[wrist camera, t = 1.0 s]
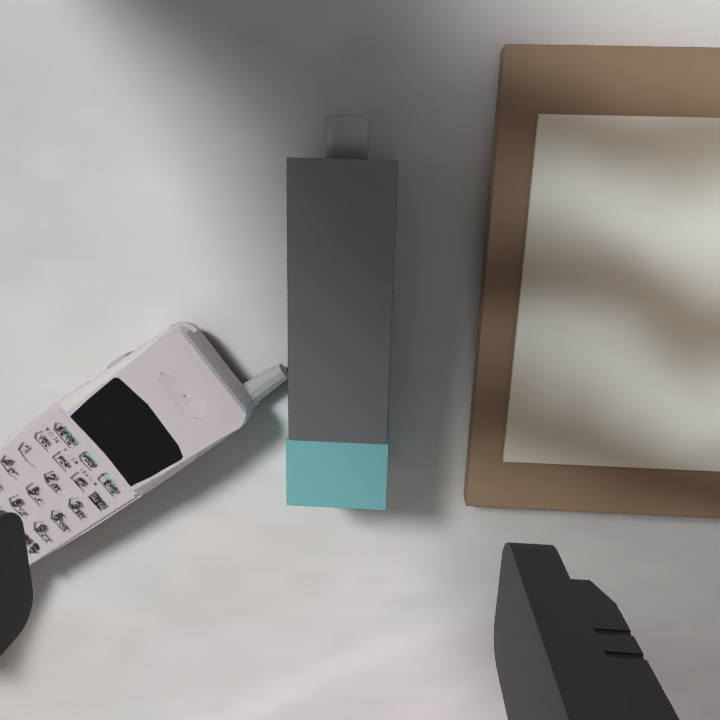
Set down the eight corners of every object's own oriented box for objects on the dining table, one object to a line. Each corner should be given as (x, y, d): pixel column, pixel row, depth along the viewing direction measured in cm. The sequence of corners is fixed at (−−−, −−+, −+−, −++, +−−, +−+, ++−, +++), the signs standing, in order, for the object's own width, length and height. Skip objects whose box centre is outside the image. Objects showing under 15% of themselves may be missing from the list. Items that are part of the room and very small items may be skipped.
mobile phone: (-242, 613, 27) (180, 308, 21) (-131, 537, 32) (223, 281, 27) (-141, 703, 28) (279, 435, 23) (-52, 614, 34) (300, 384, 28)
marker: (301, 122, 25) (283, 109, 21) (401, 125, 25) (403, 111, 21) (301, 459, 29) (286, 505, 25) (386, 463, 29) (385, 510, 25)
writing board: (500, 49, 24) (506, 42, 23) (967, 57, 23) (997, 50, 22) (463, 495, 29) (466, 507, 28) (837, 513, 29) (856, 527, 27)
